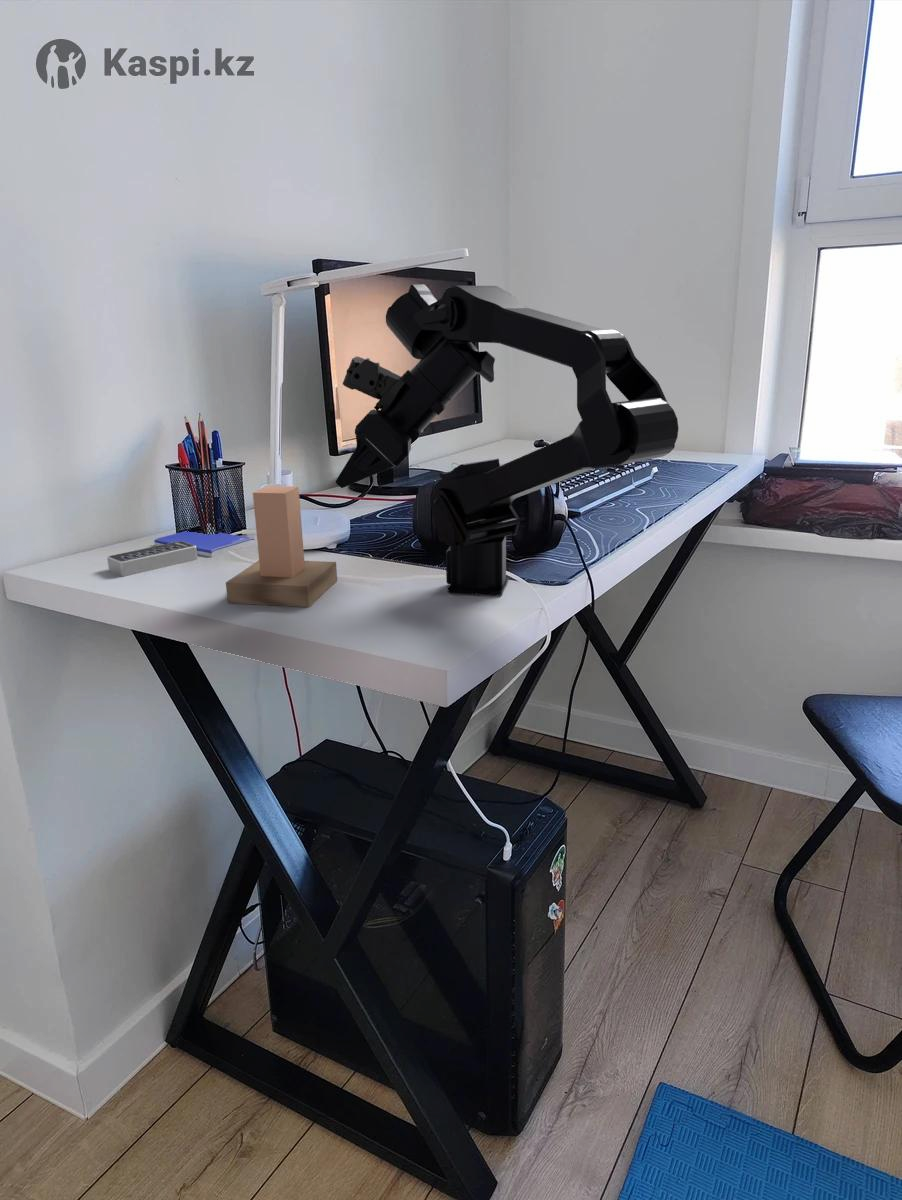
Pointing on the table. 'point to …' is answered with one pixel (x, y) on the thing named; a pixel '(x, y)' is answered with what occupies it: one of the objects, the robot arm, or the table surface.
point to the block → (279, 531)
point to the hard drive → (208, 542)
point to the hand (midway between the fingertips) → (344, 476)
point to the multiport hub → (151, 558)
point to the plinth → (282, 585)
